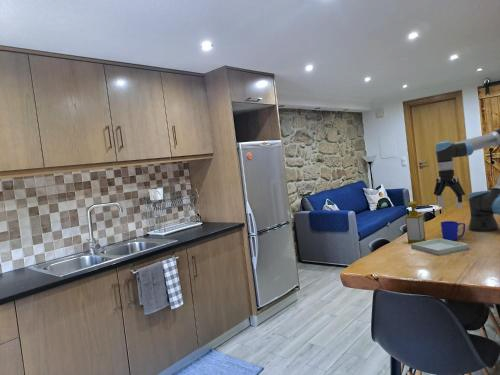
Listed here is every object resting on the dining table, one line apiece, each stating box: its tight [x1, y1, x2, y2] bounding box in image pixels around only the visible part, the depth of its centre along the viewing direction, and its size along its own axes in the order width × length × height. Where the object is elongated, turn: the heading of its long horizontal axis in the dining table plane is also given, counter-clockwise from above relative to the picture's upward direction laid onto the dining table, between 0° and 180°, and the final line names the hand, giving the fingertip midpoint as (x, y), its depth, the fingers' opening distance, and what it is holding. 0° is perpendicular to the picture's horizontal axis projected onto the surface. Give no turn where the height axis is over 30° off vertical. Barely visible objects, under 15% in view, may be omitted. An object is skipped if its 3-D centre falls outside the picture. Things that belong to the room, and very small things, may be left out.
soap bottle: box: [404, 201, 427, 245], centre depth 209 cm, size 7×13×24 cm, turn 137°
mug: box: [440, 220, 466, 242], centre depth 202 cm, size 8×12×10 cm
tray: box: [410, 237, 470, 256], centre depth 188 cm, size 18×20×3 cm
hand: (450, 207), depth 201 cm, fingers open, 13 cm apart
